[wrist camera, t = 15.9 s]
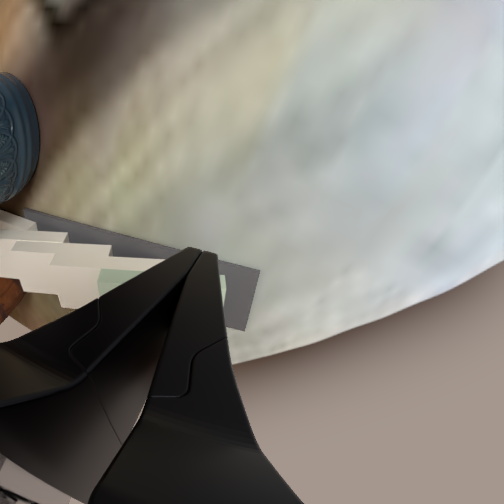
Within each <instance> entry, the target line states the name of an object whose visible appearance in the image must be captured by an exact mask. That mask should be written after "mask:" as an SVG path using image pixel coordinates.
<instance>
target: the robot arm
mask: <svg viewBox="0 0 504 504" xmlns="http://www.w3.org/2000/svg"><path fill="white" fill-rule="evenodd" d="M145 400H146V402H145ZM144 403H145V406H144V408H143V411H142V414H141V416H140V418H139V420H138V422H137V423H136V425H135V426H134V424H135V422H136V420H137V418H138V415H139V413H140V411H141V409H142V407H143V405H144ZM133 426H134V428H133ZM132 428H133V429H132ZM131 430H132V431H131ZM130 432H131V433H130ZM71 497H72V498H74V499H76V500H78V501H80V502H82V503H84V504H304V503H303V502H302V501H301V500H300V499H299V498H298V496H297V495H296V494H295V493H294V492H293V490H292V489H291V488H290V487H289V485H288V484H287V483H286V482H285V481H284V479H283V478H282V477H281V476H280V475H279V473H278V472H277V471H276V469H275V468H274V467H273V465H272V464H271V463H270V462H269V460H268V459H267V458H266V456H265V455H264V454H263V452H262V451H261V449H260V447H259V445H258V443H257V441H256V439H255V436H254V434H253V432H252V429H251V426H250V423H249V420H248V417H247V414H246V411H245V408H244V405H243V403H242V400H241V396H240V393H239V390H238V387H237V384H236V380H235V376H234V372H233V369H232V364H231V358H230V353H229V346H228V340H227V332H226V324H225V316H224V308H223V299H222V291H221V282H220V273H219V264H218V256H217V254H215V253H211V252H208V251H203V252H202V250H200V249H196V248H192V247H187V248H185V249H184V250H182V251H180V252H178V253H176V254H174V255H173V256H171V257H169V258H167V259H165V260H164V261H162V262H160V263H158V264H156V265H155V266H153V267H151V268H149V269H147V270H146V271H144V272H142V273H140V274H138V275H137V276H135V277H133V278H131V279H130V280H128V281H126V282H124V283H123V284H121V285H119V286H117V287H115V288H114V289H112V290H110V291H109V292H107V293H105V294H103V295H102V296H100V297H99V299H98V298H96V299H94V300H93V301H91V302H89V303H88V304H86V305H84V306H82V307H80V308H79V309H77V310H75V311H73V312H71V313H69V314H67V315H65V316H63V317H61V318H59V319H57V320H55V321H53V322H51V323H49V324H46V325H44V326H42V327H40V328H38V329H36V330H34V331H31V332H29V333H27V334H25V335H23V336H21V337H19V338H16V339H14V340H11V341H8V342H3V343H0V504H69V501H70V499H71Z"/></svg>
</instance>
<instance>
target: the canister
mask: <svg viewBox="0 0 504 504" xmlns="http://www.w3.org/2000/svg"><path fill="white" fill-rule="evenodd" d="M38 156H39V127H38V121H37V116H36V112H35V108H34V105H33V102H32V100H31V97H30V95H29V93H28V91H27V90H26V88H25V87H24V85H23V84H22V83H21V81H20V80H19V79H17V78H16V77H15V76H13V75H12V74H10V73H6V72H0V204H1V203H3V202H6V201H8V200H10V199H11V198H13V197H14V196H16V195H17V194H18V193H19V192H20V191H21V190H22V189H23V187H24V186H25V185H26V184H28V182H29V181H30V180H31V178H32V176H33V174H34V172H35V169H36V166H37V162H38Z"/></svg>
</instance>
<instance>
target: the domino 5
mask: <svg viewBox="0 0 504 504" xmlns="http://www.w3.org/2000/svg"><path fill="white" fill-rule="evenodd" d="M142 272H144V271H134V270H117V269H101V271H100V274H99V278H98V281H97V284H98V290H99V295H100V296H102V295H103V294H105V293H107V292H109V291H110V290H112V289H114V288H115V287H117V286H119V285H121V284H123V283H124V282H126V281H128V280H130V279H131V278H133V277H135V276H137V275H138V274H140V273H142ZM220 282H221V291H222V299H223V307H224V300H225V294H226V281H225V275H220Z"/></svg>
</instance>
